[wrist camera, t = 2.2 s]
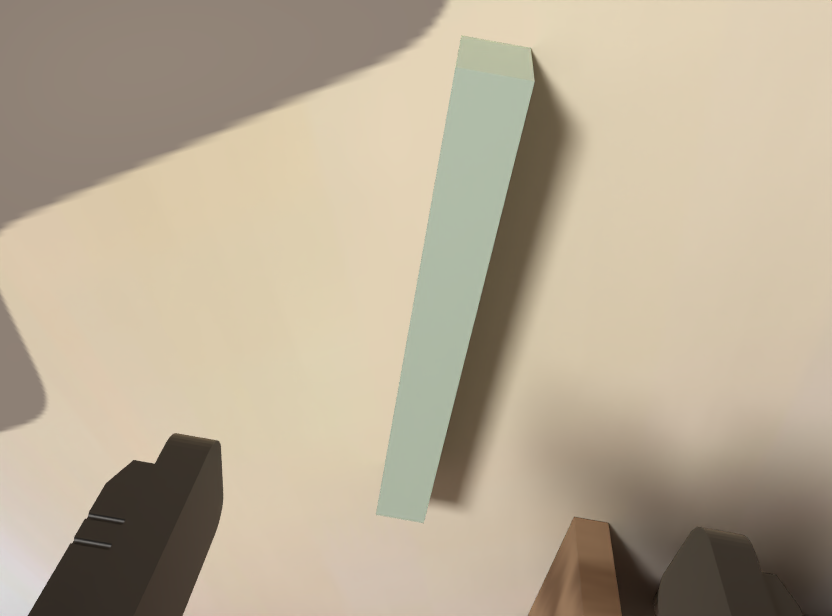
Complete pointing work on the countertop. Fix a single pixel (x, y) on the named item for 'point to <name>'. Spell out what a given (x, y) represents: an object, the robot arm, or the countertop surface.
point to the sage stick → (454, 261)
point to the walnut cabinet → (581, 575)
